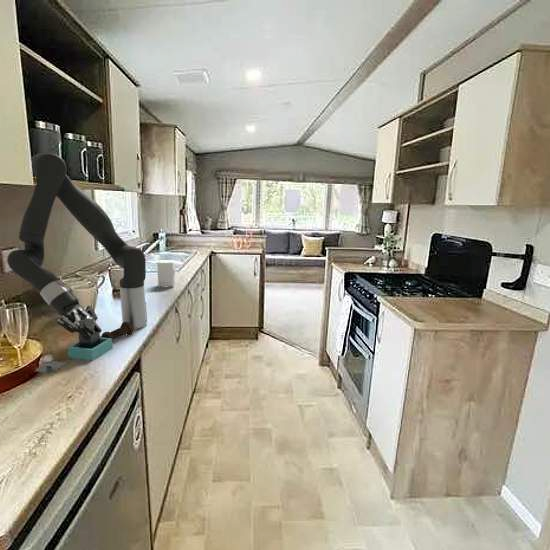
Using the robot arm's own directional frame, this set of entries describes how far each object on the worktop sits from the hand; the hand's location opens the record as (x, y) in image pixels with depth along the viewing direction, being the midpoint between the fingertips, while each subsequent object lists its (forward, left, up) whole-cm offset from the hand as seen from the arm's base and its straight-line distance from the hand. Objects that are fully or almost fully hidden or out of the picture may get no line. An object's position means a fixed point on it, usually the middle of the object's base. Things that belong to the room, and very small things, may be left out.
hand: (94, 335), depth 122 cm
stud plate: (+12, -7, -8) cm, 16 cm away
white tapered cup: (-97, -26, -8) cm, 101 cm away
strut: (0, -2, -4) cm, 5 cm away
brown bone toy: (-15, -4, -8) cm, 17 cm away
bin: (0, -2, -8) cm, 8 cm away
